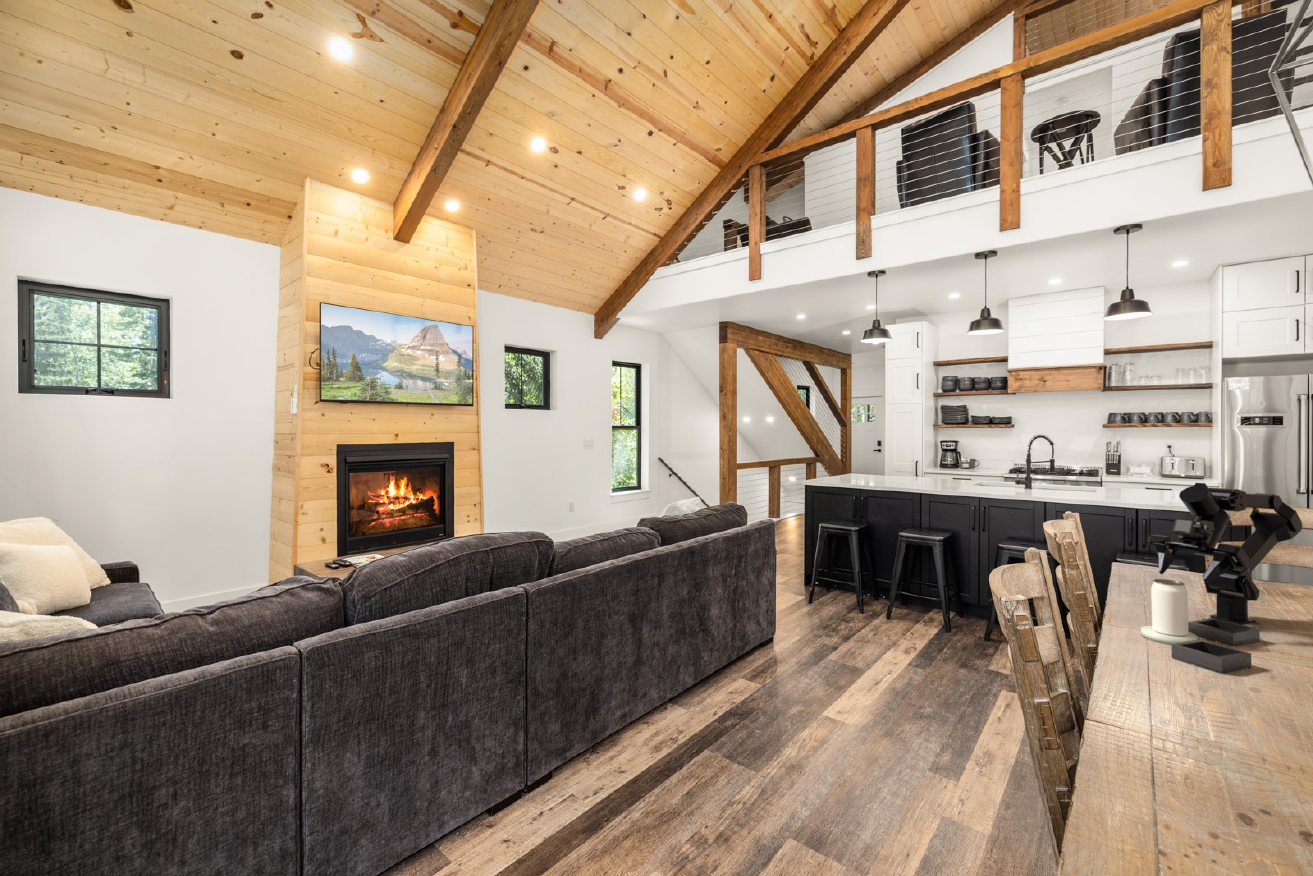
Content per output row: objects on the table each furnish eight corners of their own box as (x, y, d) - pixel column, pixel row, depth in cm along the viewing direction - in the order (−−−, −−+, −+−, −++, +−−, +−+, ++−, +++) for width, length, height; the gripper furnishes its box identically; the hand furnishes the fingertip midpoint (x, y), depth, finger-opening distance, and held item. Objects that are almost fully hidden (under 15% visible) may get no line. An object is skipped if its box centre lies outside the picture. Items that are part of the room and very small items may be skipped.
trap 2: (1213, 629, 144) (1212, 617, 144) (1259, 642, 135) (1259, 629, 135) (1187, 634, 141) (1187, 621, 141) (1233, 646, 132) (1233, 633, 132)
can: (1184, 630, 139) (1182, 580, 139) (1192, 638, 134) (1191, 586, 134) (1149, 626, 143) (1148, 577, 143) (1155, 634, 137) (1154, 583, 137)
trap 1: (1200, 652, 129) (1199, 639, 129) (1251, 667, 121) (1251, 653, 121) (1171, 658, 127) (1171, 644, 127) (1221, 673, 118) (1221, 659, 118)
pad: (1159, 629, 145) (1159, 623, 145) (1207, 642, 135) (1207, 636, 135) (1130, 634, 142) (1130, 628, 142) (1177, 648, 132) (1177, 641, 132)
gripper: (1150, 504, 154) (1124, 550, 150) (1241, 511, 137) (1214, 564, 133) (1170, 530, 157) (1145, 576, 153) (1261, 542, 139) (1235, 594, 136)
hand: (1181, 577), depth 144 cm, fingers open, 9 cm apart
